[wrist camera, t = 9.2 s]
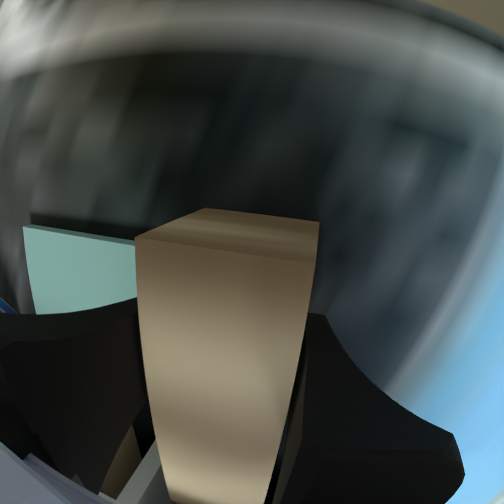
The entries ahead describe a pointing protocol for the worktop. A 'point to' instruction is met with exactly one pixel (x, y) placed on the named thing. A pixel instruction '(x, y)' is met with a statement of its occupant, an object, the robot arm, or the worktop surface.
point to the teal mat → (78, 269)
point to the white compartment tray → (135, 476)
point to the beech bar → (222, 345)
